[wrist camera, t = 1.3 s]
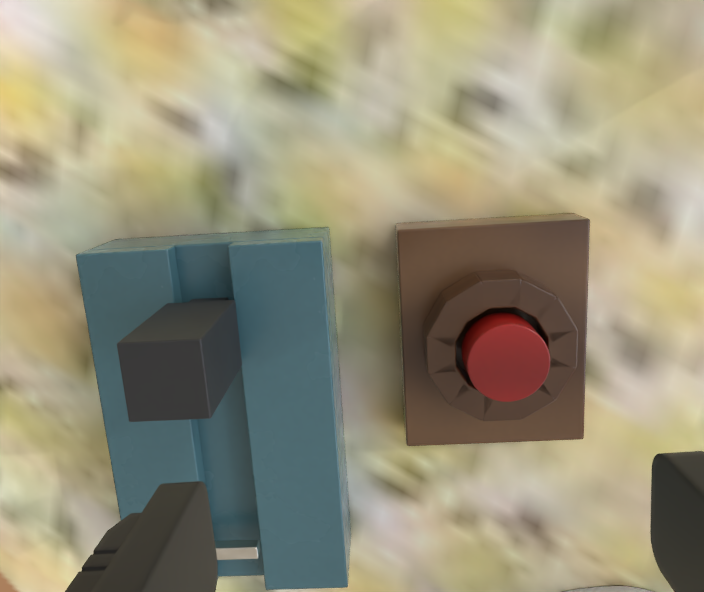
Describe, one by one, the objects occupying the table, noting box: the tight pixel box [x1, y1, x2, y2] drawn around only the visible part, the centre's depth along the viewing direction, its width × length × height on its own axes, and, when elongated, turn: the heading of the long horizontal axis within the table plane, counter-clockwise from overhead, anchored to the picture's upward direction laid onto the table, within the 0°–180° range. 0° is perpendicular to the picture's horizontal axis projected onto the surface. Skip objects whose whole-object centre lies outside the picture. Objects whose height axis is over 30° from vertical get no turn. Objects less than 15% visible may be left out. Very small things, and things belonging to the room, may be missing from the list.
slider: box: [117, 297, 242, 422], centre depth 24 cm, size 3×3×6 cm
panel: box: [395, 213, 590, 446], centre depth 28 cm, size 10×8×4 cm
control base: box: [76, 227, 351, 590], centre depth 29 cm, size 16×10×5 cm, turn 4°
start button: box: [461, 312, 550, 402], centre depth 25 cm, size 3×3×2 cm
